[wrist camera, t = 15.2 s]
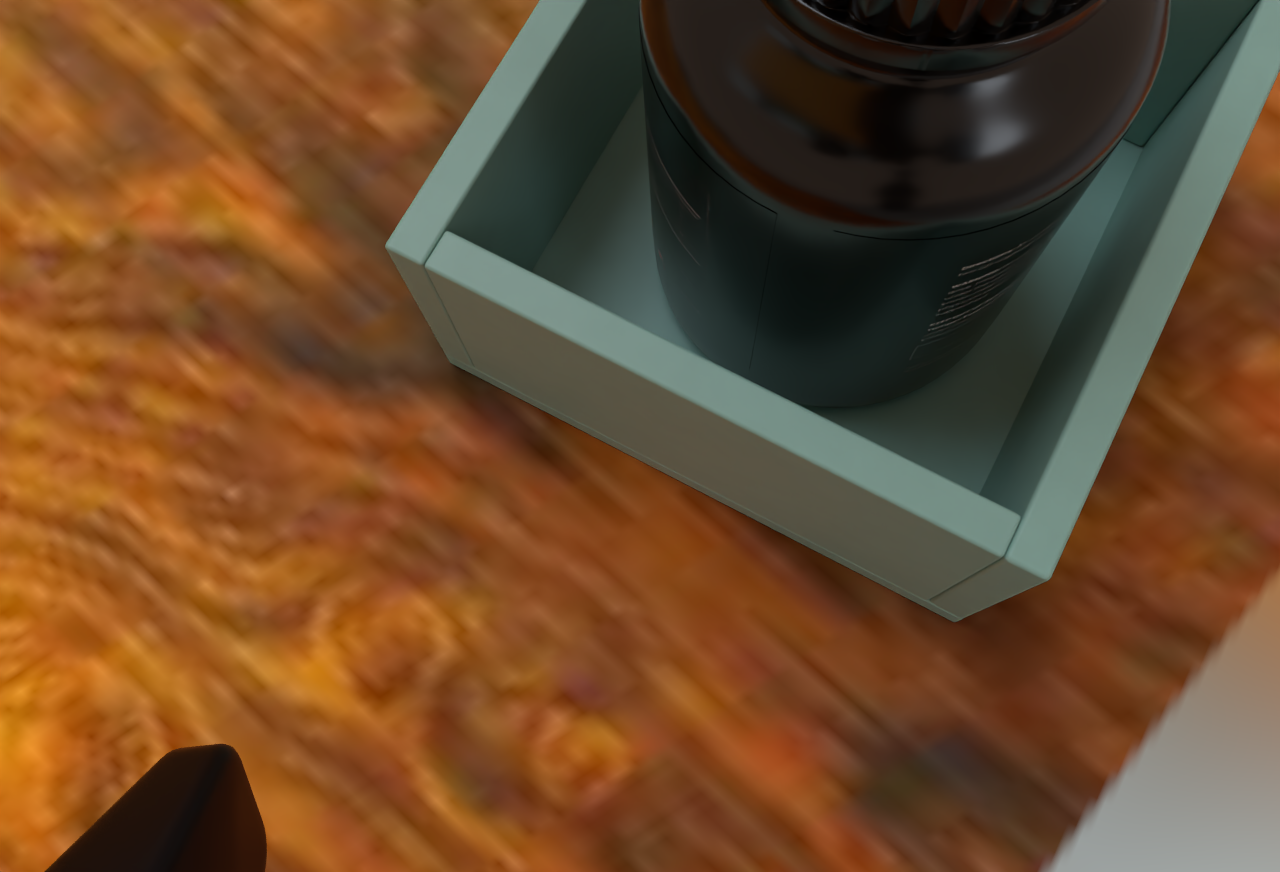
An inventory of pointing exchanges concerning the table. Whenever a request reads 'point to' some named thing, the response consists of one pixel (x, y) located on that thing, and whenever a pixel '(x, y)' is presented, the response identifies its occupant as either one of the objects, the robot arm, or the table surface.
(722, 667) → the table surface
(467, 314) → the open storage bin
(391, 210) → the table surface
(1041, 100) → the supplement bottle
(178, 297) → the table surface
